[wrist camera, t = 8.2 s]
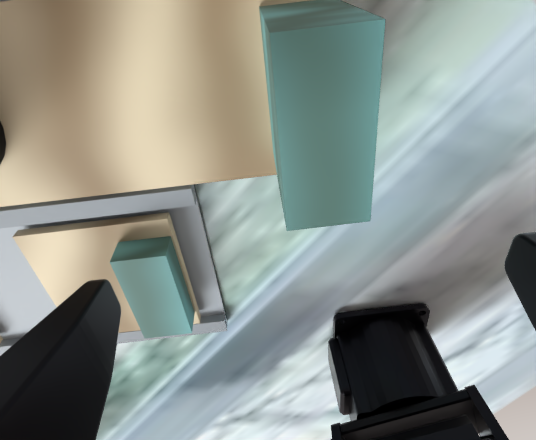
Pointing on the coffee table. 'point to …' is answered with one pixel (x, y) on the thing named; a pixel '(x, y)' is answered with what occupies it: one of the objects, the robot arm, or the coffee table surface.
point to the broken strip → (89, 256)
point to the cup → (2, 143)
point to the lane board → (94, 209)
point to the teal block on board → (192, 100)
